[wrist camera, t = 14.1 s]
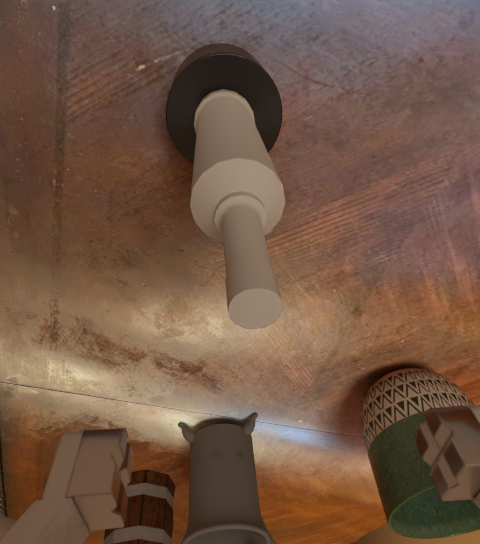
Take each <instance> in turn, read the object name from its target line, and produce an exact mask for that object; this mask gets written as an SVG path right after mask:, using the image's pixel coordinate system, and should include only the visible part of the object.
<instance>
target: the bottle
mask: <svg viewBox="0 0 480 544" xmlns="http://www.w3.org/2000/svg"><path fill="white" fill-rule="evenodd" d="M194 128H195V131H196V145H195V156H194V168H193V179H192V190H191V201H190V207H191V211H192V214H193V217H194V221H195V223H196V224H197V225H198V226H199V227H200V229H201V230H202V231H203V232H204V233H205V234H206V235H207V236H209V237H211V238H213V239H215V240H217V241H219V242H221V243H223V245H224V256H225V266H226V279H225V281H226V293H227V305H228V313H229V316H230V319H231V320H232V321H233V322H234V323H235V324H236V325H238V326H240V327H243V328H246V329H259V328H264V327H266V326H268V325H270V324H272V323H274V322H275V321H276V320H277V319H278V318H279V317H280V315H281V312H282V309H283V305H282V300H281V296H280V292H279V288H278V284H277V280H276V276H275V272H274V269H273V268H272V265H271V261H270V257H269V253H268V249H267V245H266V241H265V237H264V235H266V234H268V233H269V232H270V231H271V230H272V229H273V228H274V226H275V225H276V224H277V223H278V221H279V220H280V219H281V216H282V212H283V209H284V205H285V197H284V190H283V185H282V183H281V181H280V178H279V176H278V174H277V172H276V170H275V167H274V165H273V163H272V161H271V159H270V156H269V154H268V152H267V150H266V148H265V145H264V143H263V141H262V139H261V137H260V134H259V132H258V130H257V128H256V126H255V120H254V114H253V110H252V109H251V107H250V105H249V104H248V102H247V101H246V99H245V98H243V97H242V96H241V95H239V94H238V93H236V92H235V91H230V90H225V89H222V90H218V91H213V92H211V93H210V94H208V95H207V96H206V97H204V98H203V99H202V100H201V102H200V104H199V106H198V107H197V109H196V112H195V120H194Z"/></svg>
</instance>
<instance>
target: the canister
mask: <svg viewBox="0 0 480 544" xmlns="http://www.w3.org/2000/svg"><path fill="white" fill-rule="evenodd" d="M222 89H225V90H230V91H235V92H236V93H238V94H239V95H241V96H242V97H243V98H245V99H246V101H247V102H248V104H249V105H250V107H251V109H252V110H253V114H254V120H255V126H256V128H257V130H258V132H259V134H260V137H261V139H262V141H263V143H264V145H265V148H266V150H267V152H269V151H270V150H271V148H272V147H273V145H274V143H275V142H276V140H277V137H278V135H279V132H280V128H281V123H282V104H281V99H280V95H279V92H278V90H277V87H276V85H275V84H274V82H273V80H272V79H271V77H270V76H269V74H268V73H267V72H266V71H265V70H264V69H263V68H262V67H261V65H260V64H259V62H258V61H257V60H256V59H255V58H254V57H253V56H252V55H251V54H249V53H248V52H247V51H245V50H243V49H242V48H239V47H237V46H234V45H230V44H223V43H219V44H211V45H207V46H204V47H201V48H199V49H198V50H196V51H194V52H193V53H192V54H190V55H189V56H188V57H187V58H186V59H185V60H184V62H183V63H182V64H181V66H180V67H179V69H178V71H177V73H176V76H175V78H174V82H173V85H172V87H171V90H170V93H169V96H168V100H167V106H166V120H167V127H168V130H169V134H170V136H171V139H172V141H173V143H174V144H175V146H176V148H177V149H178V151H179V152H180V153H181V154H182V155H183V156H184V157H185V158H186V159H187V160H188V161H189V162H191V163H192V164H193V165H194V156H195V145H196V131H195V128H194V120H195V112H196V109H197V107H198V106H199V104H200V102H201V100H202V99H203V98H204V97H206V96H207V95H208V94H210V93H211V92H213V91H218V90H222Z"/></svg>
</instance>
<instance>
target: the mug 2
mask: <svg viewBox="0 0 480 544" xmlns="http://www.w3.org/2000/svg"><path fill="white" fill-rule="evenodd" d="M257 417H258V414H257V413H254V414H253V415H252V416H251V417H250V419H249V420H248V422H247V423H246V424H245V425H244V426H243V427H241V426H238V425H234V424H215V425H210V426H207V427H204V428H202V429H200V430H199V431H197V432H196V433H195V432H193V431H191V430H190V429H189V428H188V427H187V426H186V425H185V424H184V423H179V425H178V426H179V427H180V428H182V433H183V436H184V438H185V439H186V440H187V441H188V442H190V485H189V518H188V526H187V531H186V535H185V537H184V539H183V541H182V543H181V544H276V543H275V542H274V540H273V539H272V537H271V535H270V534H269V532H268V530H267V528H266V526H265V524H264V522H263V519H262V517H261V513H260V507H259V498H258V490H257V481H256V472H255V463H254V454H253V445H252V437H251V433H252V432H253V430H254V427H255V418H257Z"/></svg>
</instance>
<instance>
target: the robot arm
mask: <svg viewBox="0 0 480 544" xmlns="http://www.w3.org/2000/svg"><path fill="white" fill-rule="evenodd" d="M423 416H424V418H425V421H424V422H422V423H421V424H419V425H418V428H417V430H416V444H417V448H418V451H419V453H420V455H421V457H422V459H423V460H424V461H425V462H426V463H427V464H428V465H430V466H431V473H430V477H431V479H432V481H433V483H434V485H435V488H436V490H437V492H438V494H439V496H440V498H441V500H442V501H454V500H473V499H474V500H473V502H474V503H475V504H476V505H477V506H478V507H479V508H480V405H468V406H451V407H439V408H430V409H428V410H426V412H425V414H424V415H423ZM127 438H128V433H127V430H126V428H114V429H98V430H78V431H65V432H64V433H63V435H62V437H61V438H60V441H59V445H58V448H57V451H56V454H55V458H54V461H53V464H52V467H51V471H50V474H49V477H48V480H47V484H46V487H45V490H44V493H43V497H42V500H35V501H34V502H33V504H32V505H31V506H30V507H29V508H28V509H27V510H26V511H25V512H24V514H23V515H22V516H21V517H20V518H19V519H18V520H17V521H16V522H15V524H14V525H13V526H12V527H11V528H10V529H9V530H8V531H7V532H6V534H5V535H4V536H3V537H2V538H1V539H0V544H83V543H84V541H85V540H86V538H87V537H88V535H89V534H90V532H89V531H95V530H104V529H113V528H122V527H124V525H125V518H126V511H127V504H128V496H127V493H126V490H125V487H126V486H127V485H128V484H129V482H130V481H131V475H132V462H133V455H132V448H131V444H129V443H128V442H127Z"/></svg>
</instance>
